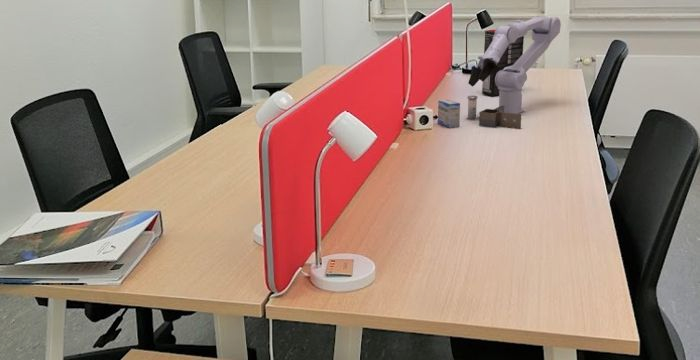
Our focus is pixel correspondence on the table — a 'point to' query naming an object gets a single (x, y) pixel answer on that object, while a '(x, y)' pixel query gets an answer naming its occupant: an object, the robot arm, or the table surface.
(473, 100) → the grey metal cylinder
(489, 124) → the dark brown block
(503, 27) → the robot arm
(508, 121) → the brown open box
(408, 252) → the table surface
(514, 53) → the graphics card box
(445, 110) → the medicine box
